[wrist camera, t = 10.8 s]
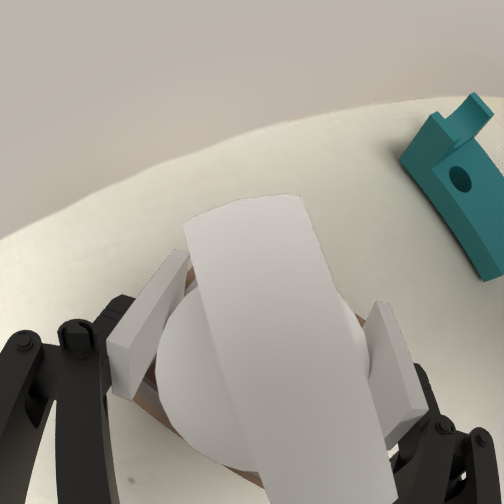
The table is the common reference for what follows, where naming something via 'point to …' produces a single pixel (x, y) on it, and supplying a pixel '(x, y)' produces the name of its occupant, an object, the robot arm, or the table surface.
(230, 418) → the cylinder with rectangular tab
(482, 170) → the teal l-shaped bracket
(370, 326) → the robot arm
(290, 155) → the table surface
